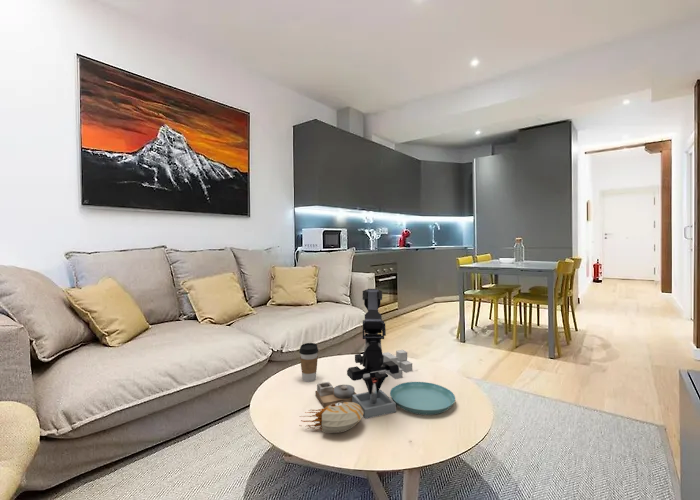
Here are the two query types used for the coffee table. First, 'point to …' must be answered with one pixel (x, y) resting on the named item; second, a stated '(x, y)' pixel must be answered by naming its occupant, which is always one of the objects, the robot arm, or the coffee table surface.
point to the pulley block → (333, 393)
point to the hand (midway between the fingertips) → (373, 393)
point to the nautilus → (337, 417)
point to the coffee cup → (308, 361)
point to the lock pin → (374, 391)
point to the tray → (373, 410)
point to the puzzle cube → (398, 363)
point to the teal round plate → (422, 397)
